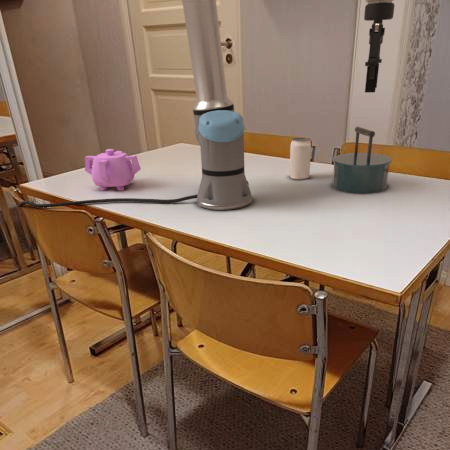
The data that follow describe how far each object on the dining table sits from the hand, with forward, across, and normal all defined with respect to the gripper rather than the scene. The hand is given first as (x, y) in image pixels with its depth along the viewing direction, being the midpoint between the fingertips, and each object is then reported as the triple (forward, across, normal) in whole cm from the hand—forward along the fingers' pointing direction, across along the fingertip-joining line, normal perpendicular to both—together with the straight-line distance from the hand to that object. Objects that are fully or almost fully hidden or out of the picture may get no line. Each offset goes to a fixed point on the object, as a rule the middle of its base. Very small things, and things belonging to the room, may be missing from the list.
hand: (370, 90), depth 134 cm
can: (+26, -1, +20) cm, 33 cm away
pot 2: (+26, -8, 0) cm, 27 cm away
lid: (+18, -8, 0) cm, 20 cm away
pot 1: (+26, -21, +76) cm, 83 cm away
